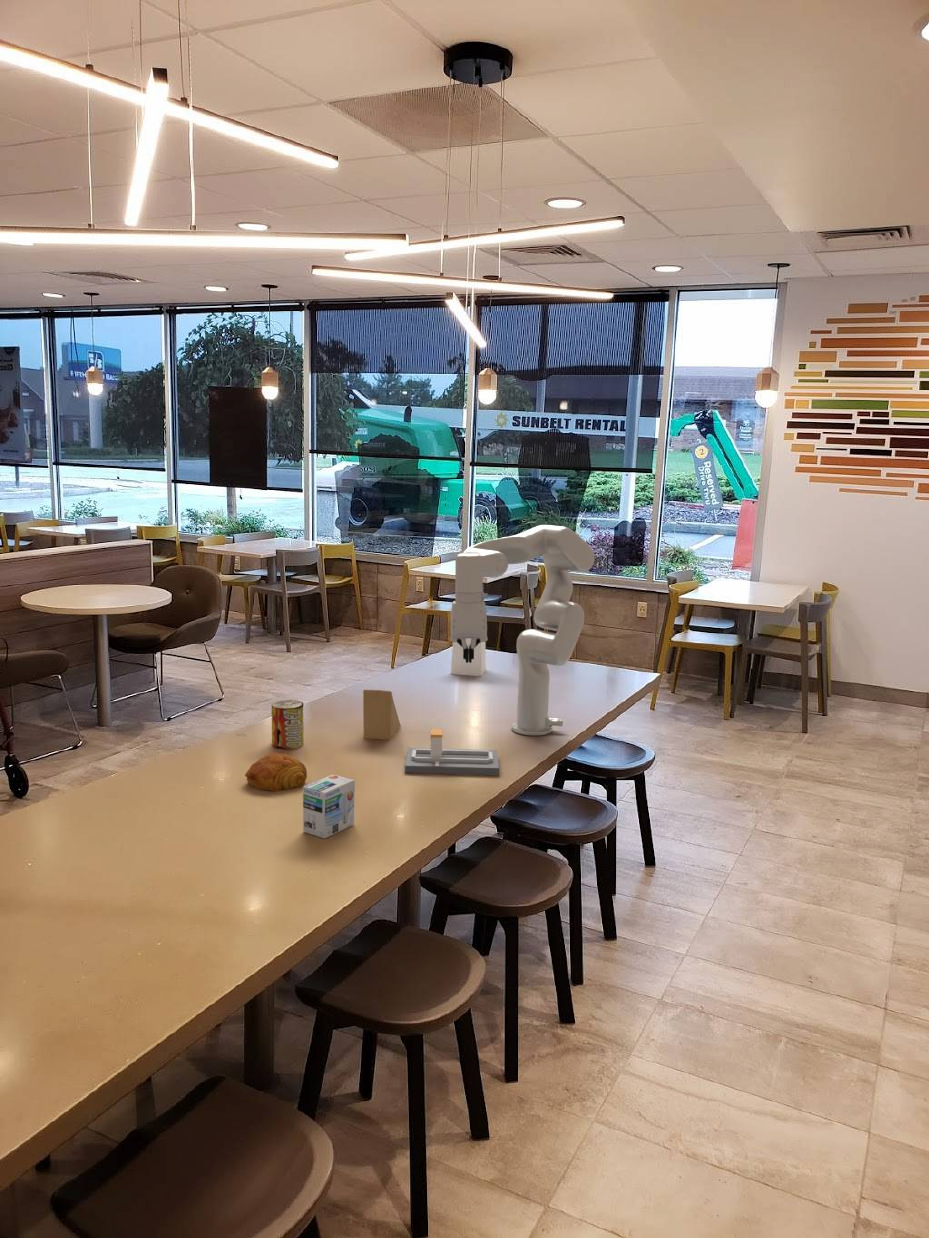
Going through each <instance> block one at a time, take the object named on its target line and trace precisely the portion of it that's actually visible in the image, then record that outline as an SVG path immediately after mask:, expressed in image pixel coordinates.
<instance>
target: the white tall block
mask: <svg viewBox="0 0 929 1238" xmlns="http://www.w3.org/2000/svg"><path fill="white" fill-rule="evenodd" d="M460 639H461V638H460ZM466 644H467V645H468V649H469V645H470V644H471V638H466ZM451 649H452V650H451V663H450V664H451V665H450V675H458V676H459V675H460V676H462V675H463V676H475V677H483V674H485V671H486V670H487V665H486V664H487V663H486V662H487V660H486V659H487V658H486V654H487V653H486V652H487V651H486V641H485V642H481V643H479V644H478V645H477V646H476V647H475V648H474V659H472V663H470V662H469V656H468V663H466V660H465V659H463V648H462V647H461V646H460V645H459V644H458V643H456V642H452V648H451Z"/></svg>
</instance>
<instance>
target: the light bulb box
mask: <svg viewBox="0 0 929 1238" xmlns="http://www.w3.org/2000/svg"><path fill="white" fill-rule="evenodd" d="M355 783H356V781H355V779H352V778H348V777H347V778H346V777H343V776H340V775H337V774H331V775H328V776H326V777H324V778H321V779H319V780H316V781H314V782H312V783H309V784H307V785H304V786H302V791H303V792H302V797H303V798H302V800H303V802H302V804H303V805H302V807H303V808H302V809H303V811H302V814H303V815H302V818H303V819H302V820H303V821H302V822H303V823H302V826H303V827H302V829H303V830H302V831H303V832H304V833H305V834H306V833H307V834H310V835H312V836H315V837H317V838H321V839H323V840H325V839H327V838H329V837H332V836H334V835H335V834H337V833H339V832H341V831H343V830H345V829H348V828H350V827H352V826H354V825H355Z"/></svg>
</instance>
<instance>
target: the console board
mask: <svg viewBox="0 0 929 1238" xmlns="http://www.w3.org/2000/svg"><path fill="white" fill-rule="evenodd" d="M430 756H431V747H429V748H428V747H426V748H424V747H407V753H406V758H405V763H404V764H405V765H404V773H405V774H430V775H431V774H437V775H440V774H441V775H477V776H500V775H499V774H500V766H499V757H498V750H496V749H467V748H466V749H463V748H462V749H461V748H442V758H437V757H430Z"/></svg>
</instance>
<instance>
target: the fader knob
mask: <svg viewBox="0 0 929 1238" xmlns="http://www.w3.org/2000/svg"><path fill="white" fill-rule="evenodd" d="M443 730H444V729H442V728H441V729H440V728H439V729H438V728H432V729H431V730H430V748H431V756H430V757H437V758H442V749H443V732H444V731H443Z"/></svg>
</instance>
